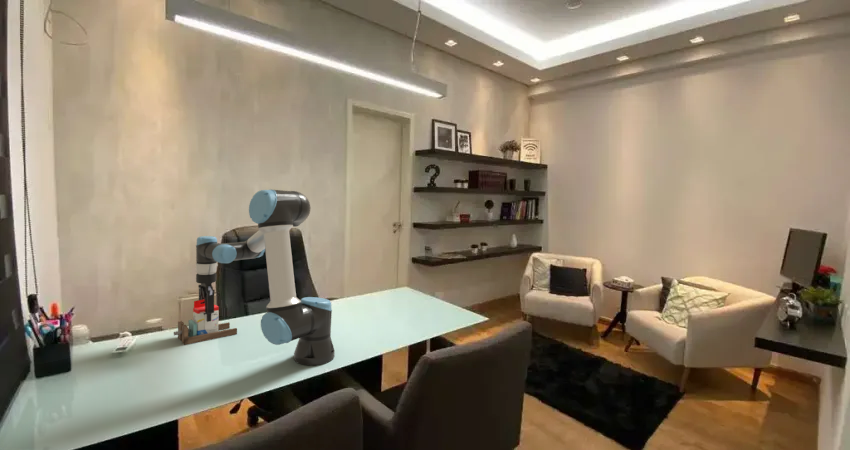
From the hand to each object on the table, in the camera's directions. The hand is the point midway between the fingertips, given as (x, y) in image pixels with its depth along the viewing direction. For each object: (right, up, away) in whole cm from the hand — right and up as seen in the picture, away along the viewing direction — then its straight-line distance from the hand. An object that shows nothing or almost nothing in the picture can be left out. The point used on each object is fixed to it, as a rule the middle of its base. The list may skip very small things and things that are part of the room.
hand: (205, 326), depth 163 cm
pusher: (-6, -4, -6) cm, 9 cm away
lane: (0, -4, +1) cm, 4 cm away
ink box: (0, -4, 0) cm, 3 cm away
